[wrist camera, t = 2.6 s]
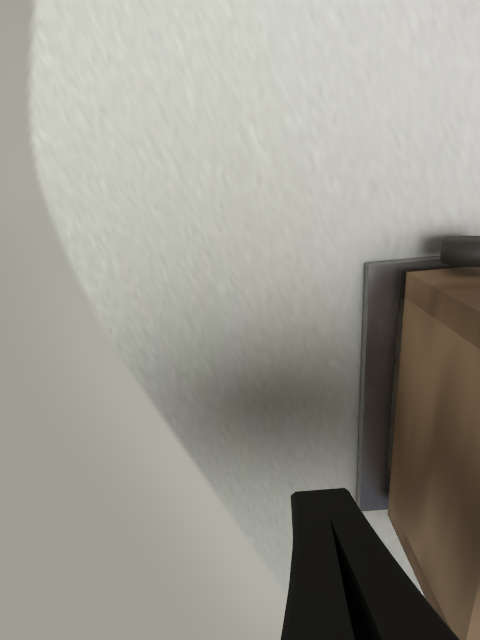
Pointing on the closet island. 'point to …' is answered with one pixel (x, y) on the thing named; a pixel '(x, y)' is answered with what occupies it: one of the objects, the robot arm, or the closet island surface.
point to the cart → (441, 435)
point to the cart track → (380, 372)
